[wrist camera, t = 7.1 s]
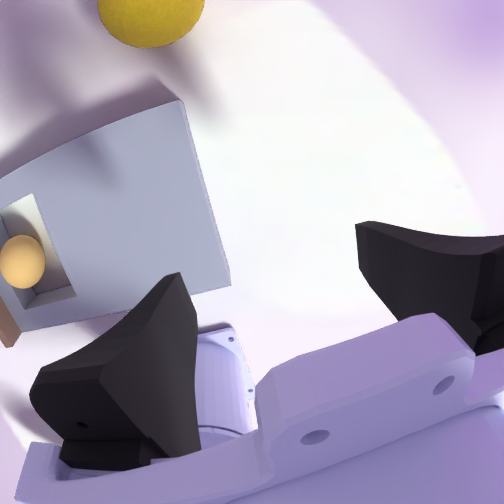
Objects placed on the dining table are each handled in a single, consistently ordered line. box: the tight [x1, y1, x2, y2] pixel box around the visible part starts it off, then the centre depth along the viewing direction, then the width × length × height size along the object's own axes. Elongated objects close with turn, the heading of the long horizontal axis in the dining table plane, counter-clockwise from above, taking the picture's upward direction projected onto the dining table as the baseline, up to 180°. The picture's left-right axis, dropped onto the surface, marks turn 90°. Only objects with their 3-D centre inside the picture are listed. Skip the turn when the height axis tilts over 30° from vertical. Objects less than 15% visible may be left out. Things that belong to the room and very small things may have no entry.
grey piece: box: [0, 100, 231, 348], centre depth 18 cm, size 12×20×4 cm, turn 103°
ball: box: [0, 235, 46, 289], centre depth 18 cm, size 4×4×4 cm
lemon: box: [98, 0, 204, 48], centre depth 11 cm, size 6×6×8 cm
